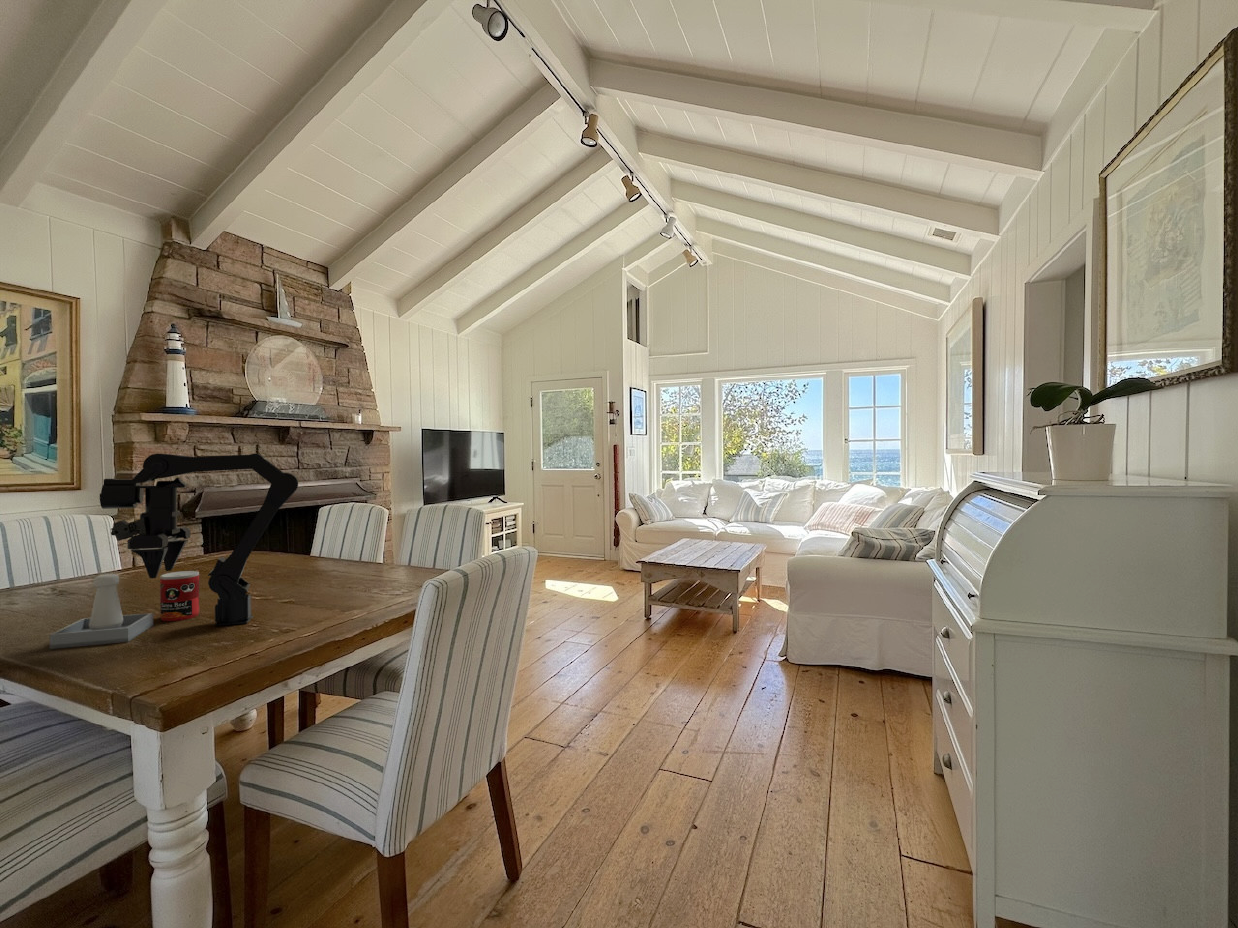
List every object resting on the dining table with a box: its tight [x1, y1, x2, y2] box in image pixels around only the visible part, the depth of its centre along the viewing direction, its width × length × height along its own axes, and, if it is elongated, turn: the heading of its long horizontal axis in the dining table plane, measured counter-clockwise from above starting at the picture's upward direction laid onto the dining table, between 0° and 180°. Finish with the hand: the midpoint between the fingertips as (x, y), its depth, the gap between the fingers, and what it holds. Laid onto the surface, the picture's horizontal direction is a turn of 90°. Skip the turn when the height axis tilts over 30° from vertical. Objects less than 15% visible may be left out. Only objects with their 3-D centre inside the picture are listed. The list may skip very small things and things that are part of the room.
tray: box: [49, 612, 154, 650], centre depth 126 cm, size 13×13×3 cm
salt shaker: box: [89, 573, 124, 630], centre depth 126 cm, size 6×6×13 cm
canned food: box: [159, 570, 200, 622], centre depth 142 cm, size 8×8×11 cm
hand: (161, 574), depth 131 cm, fingers open, 9 cm apart
